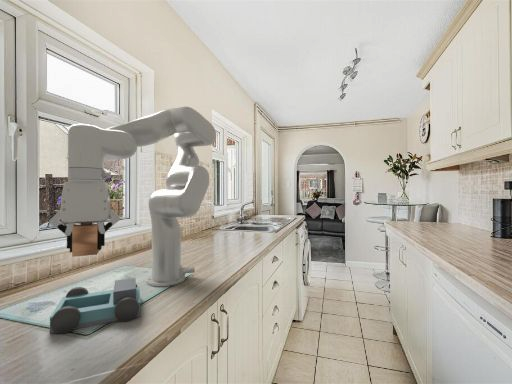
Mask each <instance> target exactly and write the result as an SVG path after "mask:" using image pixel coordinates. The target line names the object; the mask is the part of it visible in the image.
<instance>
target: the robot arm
mask: <svg viewBox="0 0 512 384" xmlns="http://www.w3.org/2000/svg"><path fill="white" fill-rule="evenodd" d="M173 135H174V142H175V146H176V149H177V156H176V159H175V161H174V163H173V165H172V166H171V168H170V169H169V172H168V173H167V175H166V177H165V184H166V187H167V188H165V189H164V188H163V189H161V188H160V189H157V190H155V191H154V192H152V194H151V195H150V196H149V198H148V210H149V215H150V222H151V275H150V276H148V277H147V278H146V284H147V285H149V286H152V287H169V286H170V285H171V286H175V285H178V284H181V283H183V282H184V281H185V280H186V274H192V273H193V274H194V273H195V266H192V267H191V266H185V267H184V266H183V265H182V251H181V250H182V248H181V247H182V245H181V244H182V243H181V239H182V230H181V229H182V228H181V225H180V222H179V221H178V218H181V219H182V218H183V219H186V218H187V219H188V218H192V217H194V216H195V215H196V214H197V212H198V211H199V209H200V207H201V205H202V203H203V201H204V199H205V196H206V193H207V192H208V189H209V185H210V173H209V171H208V169H207V168H206V167H204V166H202V165H199V164H200V158H199V155H198V154H197V153H196V151H195V148H194V147H207V146H211V145H212V144H214V143H215V142H216V139H217V132H216V129H215V127H214V125H213V124H212V123H211V122H210V121H209V120H208V119H207V118H205V117H204V116H203V114H201V113H200V112H198V111H197V110H196V109H194V108H192V107H190V106H182V107H181V106H179V107H173V108H172V107H171V108H168V109H164V110H161V111H158V112H155V113H153V114H149V115H146V116H143V117H140V118H137V119H134V120H133V119H132V120H131V121H128V122H126V123H122V124H118V125H114V126H111V127H107V128H105V129H104V128H101V127H98V126H96V125H92V124H91V125H90V124H86V123H84V124H83V123H78V124H72V125H70V126H69V128H68V130H67V181H64V183H63V187H62V191H61V199H60V209H58V211H57V212H56V213H55V214H54V215H53V216H52V217H51V218H50V219H49V221H48V223H49V225H51V226H53V227H55V228H57V229H58V230H59V231H60V232H62V233H63V234H64V235H65V236H66V249H67V250H68V249H69V253H71V254H72V227H73V226H74V225H76V224H81V223H88V222H92V223H95V224H97V225H98V229H99V234H98V250H99V251H101V250H102V248H103V247H104V246H105V245H106V244H105V242H106V241H105V238H106V237H105V233H106V232H107V231H108V230H109V229H110V228H111V227H113V226H114V225H115V224H117V223H118V222H120V220H121V218H120V216H119V215H118V214H117V213H116V212H115V211H114V209H112V208H111V197H110V193H111V192H110V187H109V183H108V182H107V181H105V180H106V179H109V178H111V177H112V175H111V172H108V171H106V170H105V161H109V160H110V161H111V160H113V161H114V160H116V161H117V160H126V159H129V158H131V157H133V156H134V155H135V154H136V152H137V150H138V148H139V147H147V146H151V145H154V144H158V143H159V142H161V141H163V140H165V139H168V138H170V137H171V136H173ZM110 218H111V220H110V221H108V220H109V219H110ZM107 221H108V222H107ZM105 222H107V223H106V224H105ZM64 223H65V224H64ZM66 224H67V225H66Z"/></svg>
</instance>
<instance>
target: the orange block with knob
mask: <svg viewBox="0 0 512 384" xmlns="http://www.w3.org/2000/svg"><path fill="white" fill-rule="evenodd" d="M98 234H99V229H98V225H97V223H93V222H88V223H76V225H74V226H73V227H72V252H71V257H72V258H73V257H74V258H75V257H83V256H86V257H87V256H95V255H96V256H97V255H99V251H100V250H98Z"/></svg>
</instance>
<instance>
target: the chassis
mask: <svg viewBox="0 0 512 384" xmlns="http://www.w3.org/2000/svg"><path fill="white" fill-rule="evenodd" d="M136 280H137V279H136V277H132V278H125V279H123V278H122V279H115V280H114V284H113V289H111V290H110V289H109V290H103V291H97V292H89V290H88V289H87V288H85V287H82V286H75V287H72V288H70V289H69V291H68V292H66V295H65V296H62V298H61V299H60V300H59V302H58V304H56V307H55V308H54V310H53V312H52V313H51V315H50V316H49V334H53V333H54V334H55V333H57V334H61V335H62V334H67V333H70V332H72V331H73V330H75V329H80V328H81V327H82V328H86V326H87V327H92V326H97V325H96V324H98V325H102V324H101V323H103V324H106V323H105V322H108V323H113V322H122V323H126V322H130V321H132V320H134V319H135V318H140V317H142V316H141V315H142V314H141V313H142V312H141V309H142V307H141V294H140V293H141V292H140V286H138V285H137V282H136ZM91 325H92V326H91Z"/></svg>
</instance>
